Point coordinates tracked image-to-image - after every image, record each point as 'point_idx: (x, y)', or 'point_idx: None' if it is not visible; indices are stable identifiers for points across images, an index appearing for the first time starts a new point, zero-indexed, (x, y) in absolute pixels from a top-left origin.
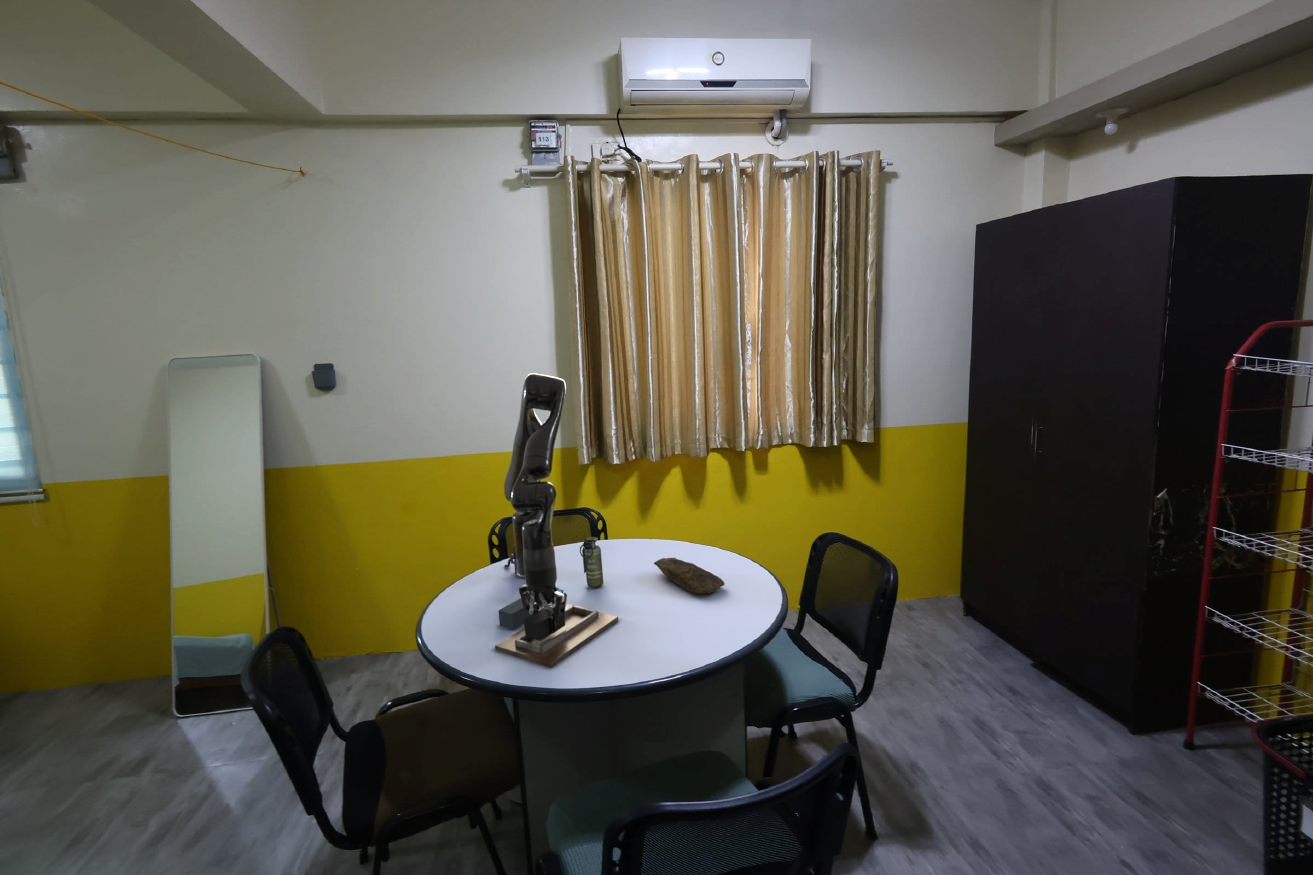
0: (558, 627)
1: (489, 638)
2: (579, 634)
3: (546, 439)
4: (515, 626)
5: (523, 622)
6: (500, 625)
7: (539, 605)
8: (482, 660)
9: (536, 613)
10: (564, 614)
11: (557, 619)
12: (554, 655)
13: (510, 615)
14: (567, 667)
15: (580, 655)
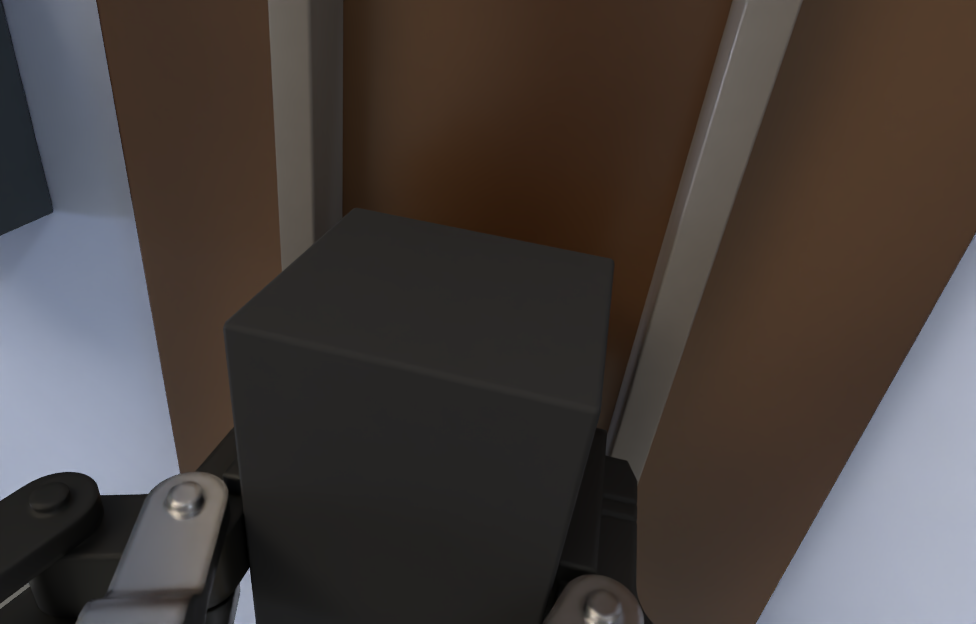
0: (633, 487)
1: (34, 365)
2: (814, 217)
3: None
4: (27, 191)
5: (3, 76)
6: None
7: (209, 587)
8: (244, 580)
9: (286, 590)
10: (606, 342)
11: (632, 589)
12: (714, 580)
13: None
14: (862, 610)
15: (925, 468)
